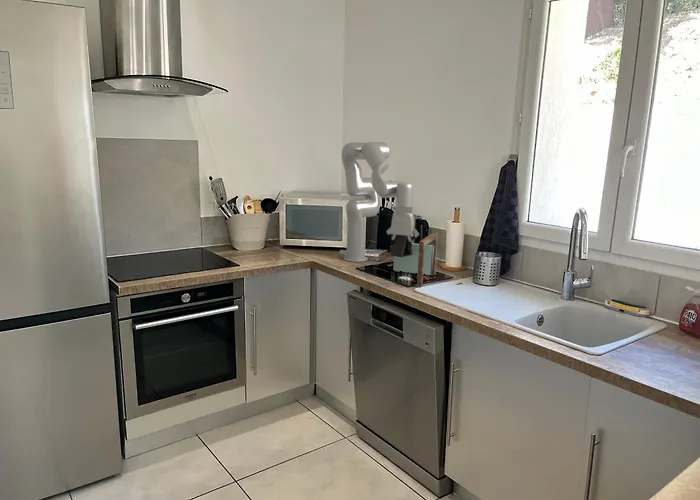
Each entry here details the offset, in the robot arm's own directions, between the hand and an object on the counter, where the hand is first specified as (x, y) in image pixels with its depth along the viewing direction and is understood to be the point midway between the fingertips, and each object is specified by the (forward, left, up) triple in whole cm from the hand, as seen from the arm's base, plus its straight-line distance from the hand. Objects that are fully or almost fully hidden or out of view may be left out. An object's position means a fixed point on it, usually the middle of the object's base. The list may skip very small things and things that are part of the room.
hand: (401, 248), depth 245 cm
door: (+4, +7, -12) cm, 15 cm away
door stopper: (0, 0, -3) cm, 3 cm away
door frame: (+13, -2, -13) cm, 18 cm away
